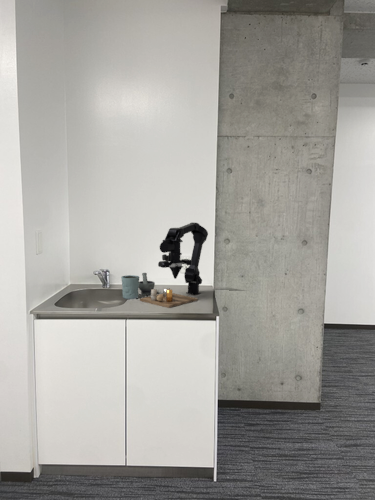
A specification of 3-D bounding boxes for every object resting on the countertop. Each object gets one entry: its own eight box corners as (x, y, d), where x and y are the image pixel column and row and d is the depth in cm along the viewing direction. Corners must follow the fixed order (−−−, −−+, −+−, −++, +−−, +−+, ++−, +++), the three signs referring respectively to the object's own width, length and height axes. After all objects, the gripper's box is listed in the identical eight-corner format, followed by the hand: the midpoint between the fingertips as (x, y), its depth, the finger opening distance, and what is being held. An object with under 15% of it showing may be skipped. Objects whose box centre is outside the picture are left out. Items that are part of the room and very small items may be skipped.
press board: (168, 294, 247) (168, 282, 246) (197, 300, 232) (197, 287, 232) (139, 300, 229) (139, 287, 229) (168, 307, 215) (168, 294, 214)
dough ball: (159, 300, 227) (159, 293, 226) (164, 301, 224) (164, 294, 224) (155, 301, 224) (155, 294, 223) (159, 302, 222) (160, 295, 221)
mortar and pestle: (156, 295, 244) (156, 274, 243) (140, 296, 241) (140, 275, 240) (151, 291, 255) (151, 271, 253) (136, 292, 252) (136, 272, 250)
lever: (162, 293, 241) (162, 283, 241) (169, 293, 242) (169, 283, 241) (165, 301, 222) (166, 290, 221) (173, 301, 223) (173, 290, 222)
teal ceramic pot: (124, 300, 231) (124, 278, 229) (119, 296, 240) (119, 275, 238) (141, 298, 235) (141, 277, 234) (136, 294, 244) (136, 274, 243)
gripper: (182, 248, 243) (181, 274, 245) (153, 250, 234) (153, 277, 236) (192, 250, 234) (192, 277, 236) (163, 252, 224) (163, 281, 226)
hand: (175, 278), depth 234 cm, fingers closed
